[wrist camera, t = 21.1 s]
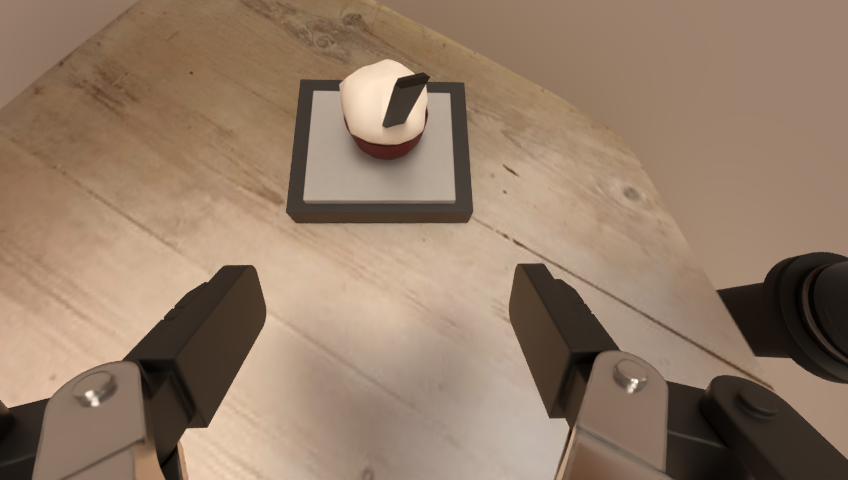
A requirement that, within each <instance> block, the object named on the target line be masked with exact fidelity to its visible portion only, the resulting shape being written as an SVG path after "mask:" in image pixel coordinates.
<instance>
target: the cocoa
mask: <svg viewBox="0 0 848 480" xmlns="http://www.w3.org/2000/svg"><path fill="white" fill-rule="evenodd" d="M429 78H430V76H428V75H427V74H425V73H424V72H423V73H419V74H414V73H413V72H412V71H410V70H409V69H407V68H406V67H405V66H403V65H402V64H400V63H398V62H395V61H392V60H389V59H386V60H383V61H380V62H378V63H375V64H372V65H369V66H364V67H362V68H360V69H359V70H357V71H355V72H354V73H352V74H351V75H350V76H348V77H347V78H346V79H345V80H344V81H342V82H341V83H340V84H339V87H340V97H341V107H342V110H343V113H344V122H345V125H346V128H347V130H348V131H349V133H350V134H351V136H352V137H353V139H354V140H355V142H356V143H357V145H358V146H359V148H360V149H361V150H362V151H364V152H365V153H367V154H369V155H370V156H372V157H374V158H377V159H385V160H393V159H396V158H400V157H403V156H405V155H407V154H408V153H409V152H410V151H411V150H412V149H413V148H414V147H415V146H416V145H417V144H418V143H419V141H420V139H421V137H422V134H423V132H424V129H425V126H426V123H427V119H428V109H427V101H428V97H427V89H426V83H427V81H428V80H429Z"/></svg>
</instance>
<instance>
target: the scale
mask: <svg viewBox="0 0 848 480" xmlns="http://www.w3.org/2000/svg"><path fill="white" fill-rule="evenodd" d="M342 81H344V80H303V79H301V81H300V90H299V99H298V108H297V117H296V126H295V135H294V145H293V154H292V163H291V172H290V181H289V190H288V199H287V208H286V213H287V214H288V215H289V216H290V217H291V218H292V219H293V220H294V221H295V222H296V223H467V222H468V221H469V219H470V217H471V215H472V213H473V204H472V190H471V175H470V161H469V146H468V132H467V117H466V103H465V88H464V83H454V82H427V83H426V89H427V97H428V101H427V109H428V119H427V123H426V126H425V129H424V132H423V134H422V137H421V139H420V141H419V143H418V144H417V145H416V146H415V147H414V148H413V149H412V150H411V151H410V152H409V153H408V154H407V155H405V156H403V157H400V158H396V159H393V160H385V159H377V158H374V157H372V156H370V155H369V154H367V153H365V152H364V151H362V150H361V149H360V148H359V146H358V145H357V143H356V142H355V140H354V139H353V137H352V136H351V134H350V133H349V131H348V130H347V128H346V125H345V122H344V113H343V110H342V107H341V97H340V87H339V84H340V83H341V82H342Z"/></svg>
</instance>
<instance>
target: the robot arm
mask: <svg viewBox="0 0 848 480" xmlns="http://www.w3.org/2000/svg"><path fill="white" fill-rule="evenodd" d="M795 305H796V310H797V313H798V317H799V319H800V322H801V324H802V326H803V328H804V329H805V331H806V333H807V334H808V336H809V337H810V338H811V340H812V341H813V342H814V343H815V344H816V345H817V346H818V347H819V348H820V349H821V350H822V351H823V352H824V353H825V354H826V355H828V356H829V357H831V358H832V359H834V360H835V361H837V362H839V363H841V364H843V365H845V366H847V367H848V261H847V262H835V263H829V264H824V265H818V266H815V267H813V268H810V269H809V270H807V271H806V272H805V273H804V274H803V275H802V276H801V278H800V279H799V281H798V283H797V286H796V291H795ZM509 315H510V321H511V324H512V326H513V329H514V331H515V334H516V336H517V339H518V341H519V344H520V346H521V349H522V351H523V354H524V356H525V359H526V361H527V364H528V366H529V369H530V371H531V374H532V376H533V379H534V381H535V384H536V386H537V389H538V391H539V394H540V396H541V399H542V401H543V404H544V406H545V409H546V411H547V413H548V416H549V418H550V419H551V418H566V421H567V423H568V425H569V427H570V429H569V432H568V434H567V437H566V441H565V444H564V447H563V450H562V454H561V457H560V460H559V463H558V467H557V470H556V473H555V476H554V479H553V480H848V460H847V459H846V458H845V457H844V456H843V455H842V454H841V453H840V452H839V451H838V450H837V449H836V448H835V447H834V446H833V445H831V444H830V443H829V442H828V441H827V440H826V439H825V438H824V437H823V436H822V435H821V434H820V433H819V432H818V431H817V430H816V429H814V428H813V427H812V426H811V425H810V424H809V423H808V422H807V421H806V420H805V419H804V418H803V417H802V416H801V415H799V413H798V412H797V411H795V410H794V409H793V408H792V407H791V406H790V405H789V404H788V403H787V402H786V401H784V400H783V399H782V398H780V397H779V396H778V395H776V394H775V393H773V392H772V391H770V390H768V389H767V388H765V387H763V386H761V385H759V384H757V383H755V382H752V381H750V380H747V379H744V378H741V377H736V376H730V375H721V376H717V377H715V378H714V379H713V380H712V381H711V383H710V384H709V386H708V387H707V389H706V390H704V389H699V388H695V387H691V386H687V385H682V384H678V383H674V382H670V381H666V380H665V379H664V378H663V376H662V375H661V374H660V373H659V372H658V371H657V370H656V369H655V368H654V367H653V366H652V365H651V364H649V363H648V362H646V361H645V360H643V359H641V358H639V357H637V356H635V355H633V354H630V353H627V352H623V351H621V350H620V349H619V348H618V346H617V345H616V344H615V342H614V341H613V340H612V338H611V337H610V336H609V334H608V333H607V332H606V330H605V329H604V328H603V326H602V325H601V324H600V322H599V321H598V319H597V318H596V317H595V315H594V314H592V313H591V310H590V309H589V307H588V306H587V305H586V304H584V301H583V299H582V298H581V297H580V295H579V294H578V293H577V291H576V290H575V289H574V288H572V287H571V286H570V285H568V284H567V283H565V282H564V281H563V280H561V279H554V278H553V276H552V275H551V273H550V272H549V271H548V269H547V268H546V266H545V265H544V264H542V263H538V264H518V265H517V266H516V269H515V274H514V279H513V285H512V291H511V296H510V302H509ZM265 319H266V305H265V301H264V297H263V293H262V289H261V286H260V282H259V278H258V274H257V271H256V269H255V267H254V266H252V265H226V266H223V267H222V268H221V269H220V270H219V271H218V272H217V273H216V274H215V275H214V276H213V277H212V279H211V280H210V281H209V282H204V283H203V284H201V285H200V286H198V287H196V288H195V289H193V290H191V291H190V292H188V293H187V294H186V295H185V296H184V297H183V298H182V299H181V300H180V301H179V302H178V303H177V304H176V305H175V308H174V309H171V310H170V311H169V312H168V313H167V314H166V315H165V316H164V320H161V321H160V322H159V323H158V324H157V325H156V326H155V327H154V328H153V329H152V330H151V331H150V332H149V333H148V334H147V335H146V336H145V337H144V338H143V339H142V340H141V341H140V342H139V343H138V344H137V345H136V346H135V347H134V348H133V349H132V350H131V351H130V353H129V354H128V355H127V356H126V357H125V358H124V359H123V360H122V361H115V362H110V363H106V364H102V365H99V366H96V367H94V368H92V369H89V370H87V371H85V372H83V373H81V374H80V375H78V376H76V377H74V378H73V379H71V380H70V381H68V382H67V383H66V384H64V385H63V386H62V387H61V388H60V389H59V390H58V391H57V392H56V393H55V394H54V395H53V396H52V397H51V398H48V399H44V400H40V401H36V402H32V403H28V404H24V405H20V406H16V407H12V408H7V407H6V406H5V405H4V404H3V403H2V401H1V400H0V480H188V474H187V469H186V463H185V458H184V452H183V447H182V444H181V442H180V441H179V440H180V438H181V436H182V435H183V433H184V432H185V430H186V428H207V427H208V426H209V424H210V422H211V420H212V418H213V416H214V415H215V413H216V411H217V409H218V407H219V406H220V404H221V402H222V400H223V398H224V397H225V395H226V393H227V391H228V389H229V388H230V386H231V384H232V382H233V380H234V379H235V377H236V375H237V373H238V371H239V369H240V368H241V366H242V364H243V362H244V360H245V359H246V357H247V355H248V353H249V351H250V350H251V348H252V346H253V344H254V342H255V341H256V339H257V337H258V335H259V333H260V331H261V330H262V328H263V326H264V323H265Z"/></svg>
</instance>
